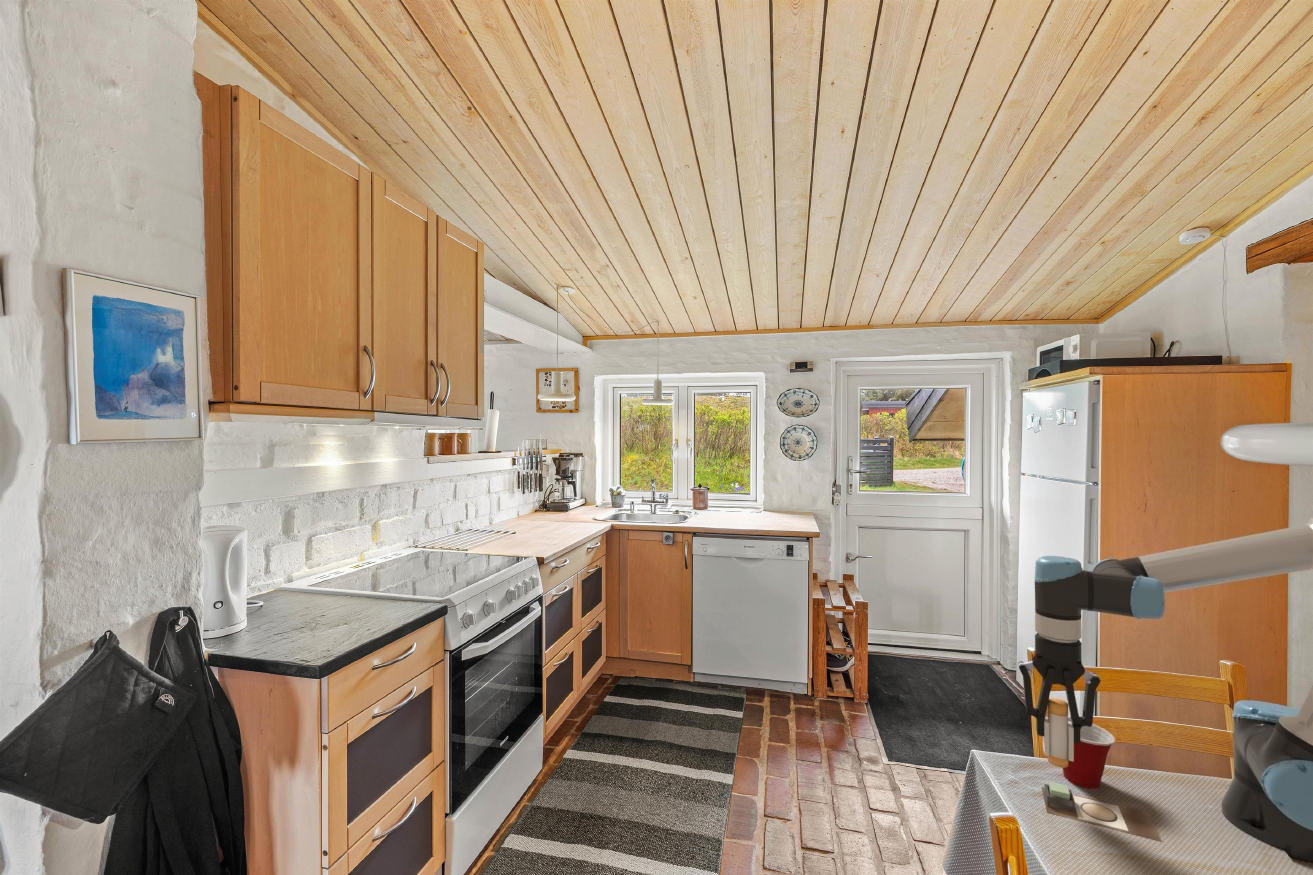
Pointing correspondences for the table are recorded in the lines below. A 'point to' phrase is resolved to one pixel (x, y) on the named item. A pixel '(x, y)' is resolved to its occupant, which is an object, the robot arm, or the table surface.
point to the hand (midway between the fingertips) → (1058, 754)
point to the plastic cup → (1089, 757)
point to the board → (1101, 814)
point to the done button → (1059, 790)
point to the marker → (1058, 732)
